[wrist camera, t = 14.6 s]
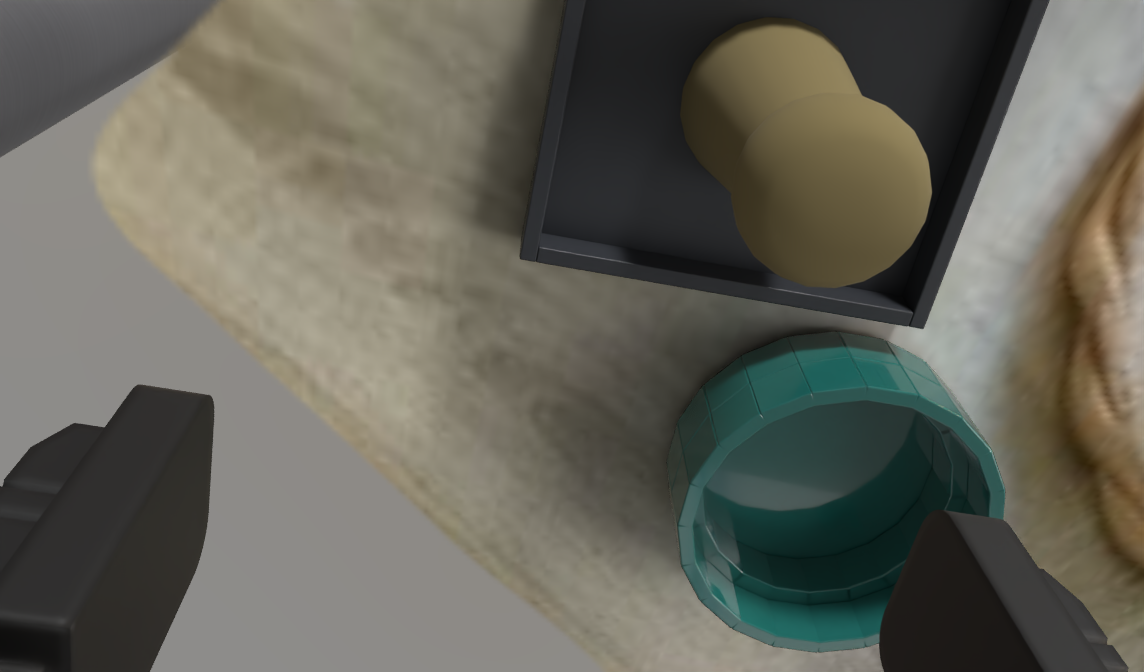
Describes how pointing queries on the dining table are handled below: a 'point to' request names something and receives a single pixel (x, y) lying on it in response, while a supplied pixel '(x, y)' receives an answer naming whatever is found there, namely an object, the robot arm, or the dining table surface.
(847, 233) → the cork
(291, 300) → the dining table surface
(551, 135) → the tray
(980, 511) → the bowl
